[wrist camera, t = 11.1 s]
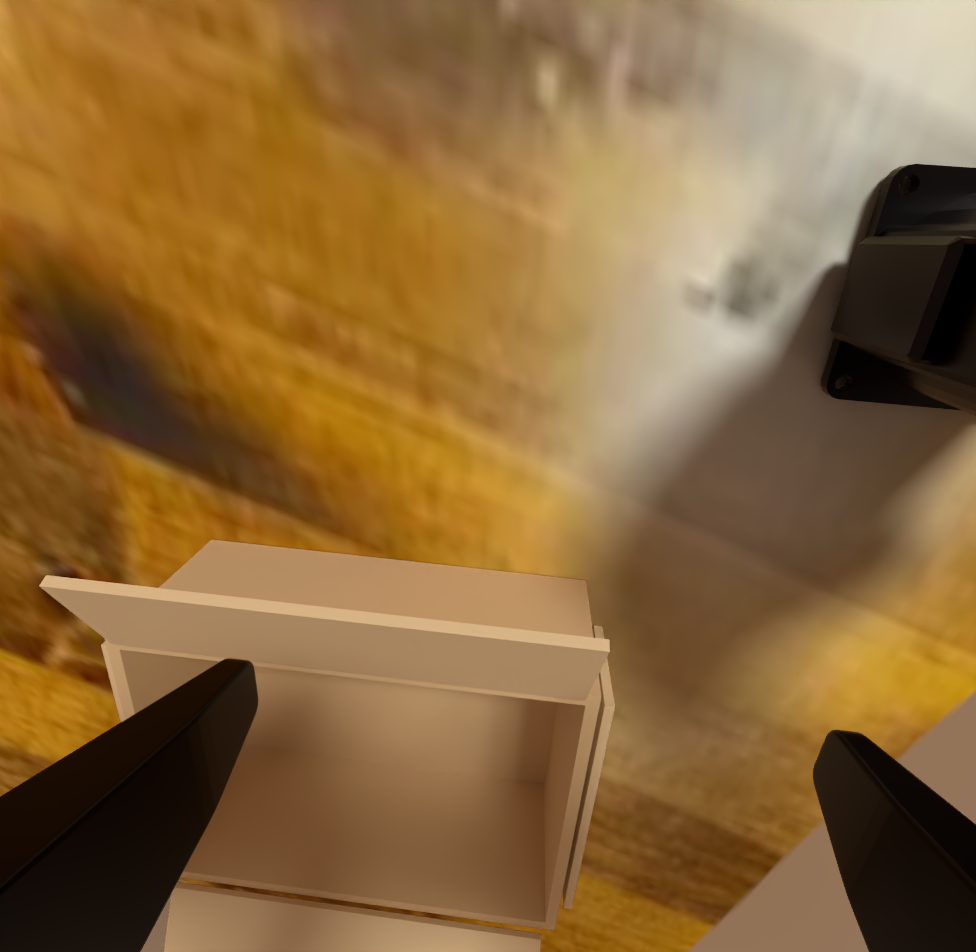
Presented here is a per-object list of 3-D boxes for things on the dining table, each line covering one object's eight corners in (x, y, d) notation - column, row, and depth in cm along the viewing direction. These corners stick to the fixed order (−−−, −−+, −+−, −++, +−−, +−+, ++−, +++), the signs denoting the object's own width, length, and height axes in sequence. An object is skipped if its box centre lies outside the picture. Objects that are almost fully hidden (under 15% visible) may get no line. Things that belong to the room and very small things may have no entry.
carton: (600, 581, 22) (620, 699, 16) (563, 787, 26) (569, 934, 21) (198, 538, 22) (86, 635, 17) (230, 745, 27) (150, 874, 21)
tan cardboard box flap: (585, 700, 16) (585, 690, 16) (609, 651, 13) (609, 639, 13) (111, 644, 16) (117, 634, 17) (39, 585, 14) (46, 575, 14)
